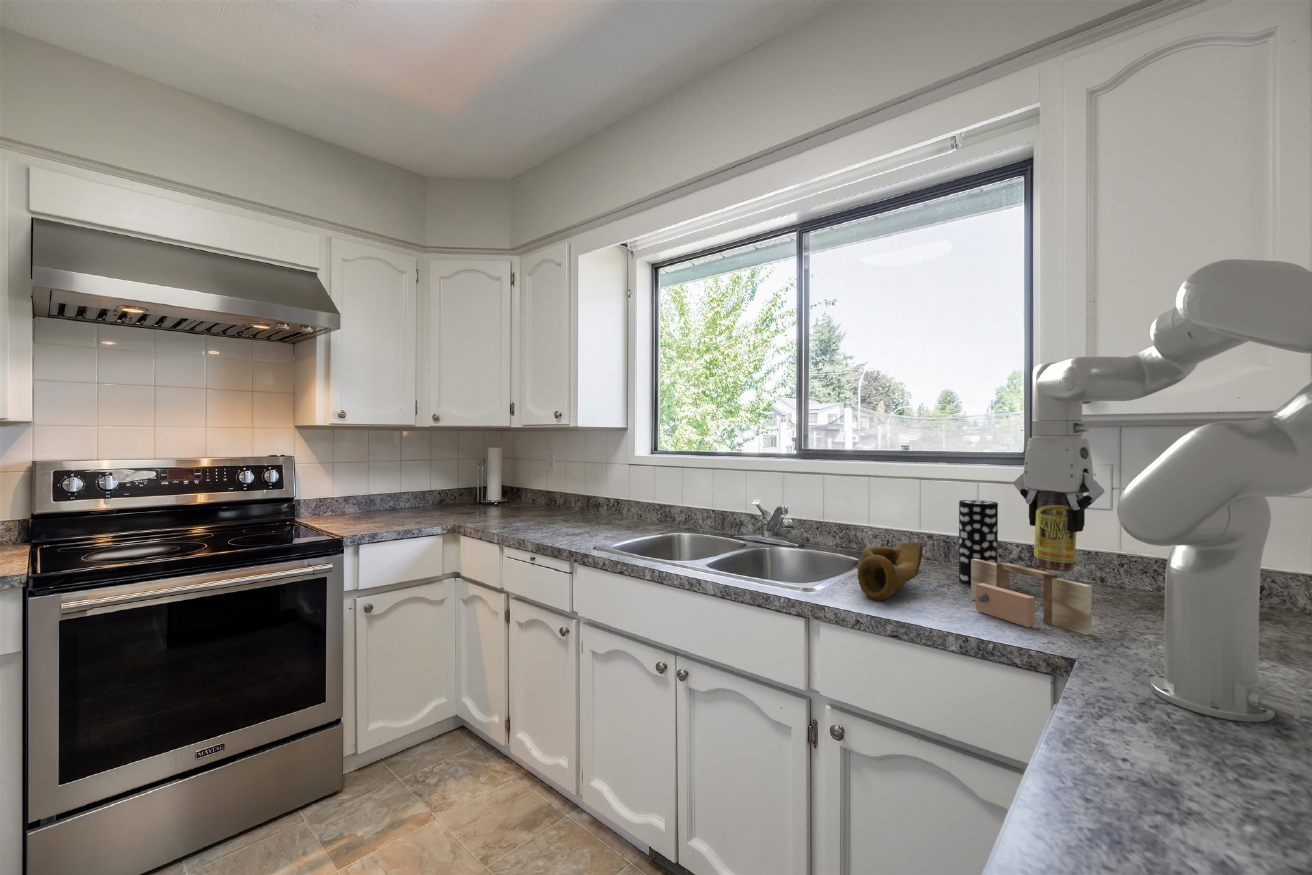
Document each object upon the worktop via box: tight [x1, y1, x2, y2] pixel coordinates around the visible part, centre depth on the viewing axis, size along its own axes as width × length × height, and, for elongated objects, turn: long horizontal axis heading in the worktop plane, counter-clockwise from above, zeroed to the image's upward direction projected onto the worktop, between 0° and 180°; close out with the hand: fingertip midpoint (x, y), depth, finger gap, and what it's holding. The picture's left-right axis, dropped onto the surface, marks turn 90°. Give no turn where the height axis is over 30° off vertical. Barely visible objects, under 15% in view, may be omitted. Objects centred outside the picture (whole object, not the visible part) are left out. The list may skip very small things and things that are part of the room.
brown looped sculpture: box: [856, 540, 924, 602], centre depth 138 cm, size 18×13×22 cm
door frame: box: [970, 559, 1093, 636], centre depth 118 cm, size 24×2×10 cm, turn 22°
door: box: [975, 583, 1036, 628], centre depth 115 cm, size 11×3×6 cm, turn 22°
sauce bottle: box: [1033, 490, 1077, 572], centre depth 106 cm, size 7×6×20 cm
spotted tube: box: [958, 499, 999, 587], centre depth 142 cm, size 8×8×20 cm
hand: (1055, 527), depth 106 cm, fingers closed on sauce bottle, 6 cm apart
